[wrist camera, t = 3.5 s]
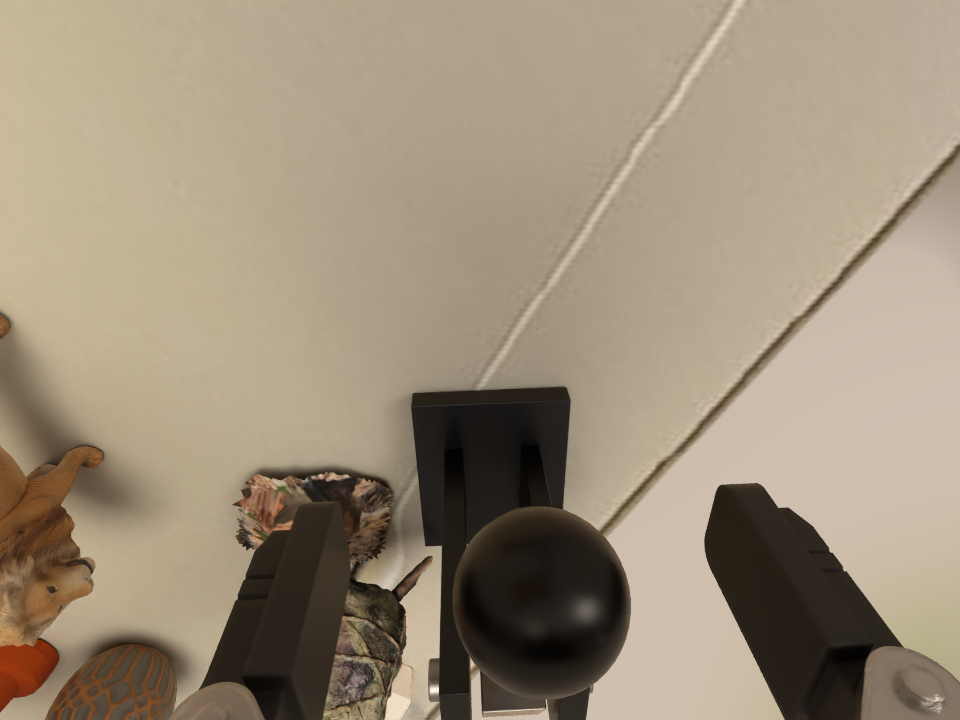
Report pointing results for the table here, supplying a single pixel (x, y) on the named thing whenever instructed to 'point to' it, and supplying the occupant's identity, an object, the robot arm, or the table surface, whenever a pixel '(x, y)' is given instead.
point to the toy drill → (24, 669)
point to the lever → (539, 608)
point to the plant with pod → (368, 608)
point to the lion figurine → (38, 543)
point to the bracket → (484, 499)
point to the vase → (119, 687)
